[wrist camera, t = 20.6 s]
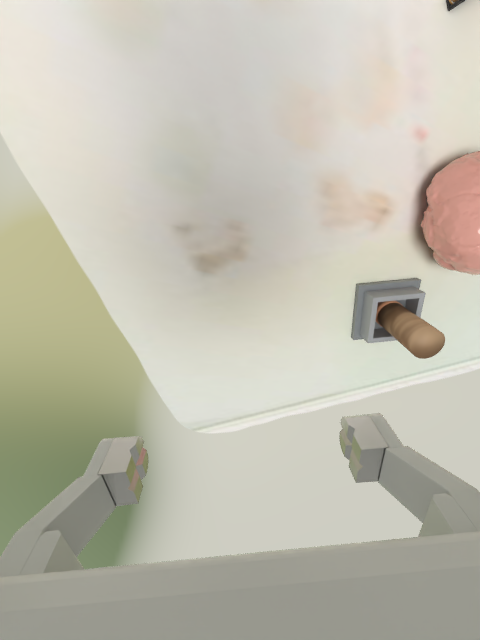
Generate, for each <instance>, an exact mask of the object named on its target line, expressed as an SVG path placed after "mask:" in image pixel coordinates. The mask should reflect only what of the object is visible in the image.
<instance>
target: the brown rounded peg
mask: <svg viewBox="0 0 480 640" xmlns="http://www.w3.org/2000/svg"><path fill="white" fill-rule="evenodd" d="M375 321H376V322H377V323H378V324H379V325H380V326H382V327H383V328H384V329H385V330H387V331H388V332H389V333H390V334H391V335H392V336H393V337H394V338H395V339H397V340H398V341H399V342H400V343H401V344H402V345H403V346H404V347H405V348H407V349H408V350H409V351H410V352H411V353H412V354H413V355H414V356H416V357H418V358H429V357H432V356H434V355H436V354H437V353H438V352H439V351H440V350H441V349H442V348H443V346H444V343H445V337H444V334H443V333H442V332H440V331H439V330H437V329H436V328H434V327H433V326H432V325H430V324H429V323H427V322H426V321H424V320H423V319H421V318H420V317H418V316H417V315H415V314H414V313H412V312H411V311H409V310H408V309H406V308H405V307H403V305H402V304H400V303H399V302H397V301H385V302H378V306H377V313H376V320H375Z"/></svg>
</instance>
